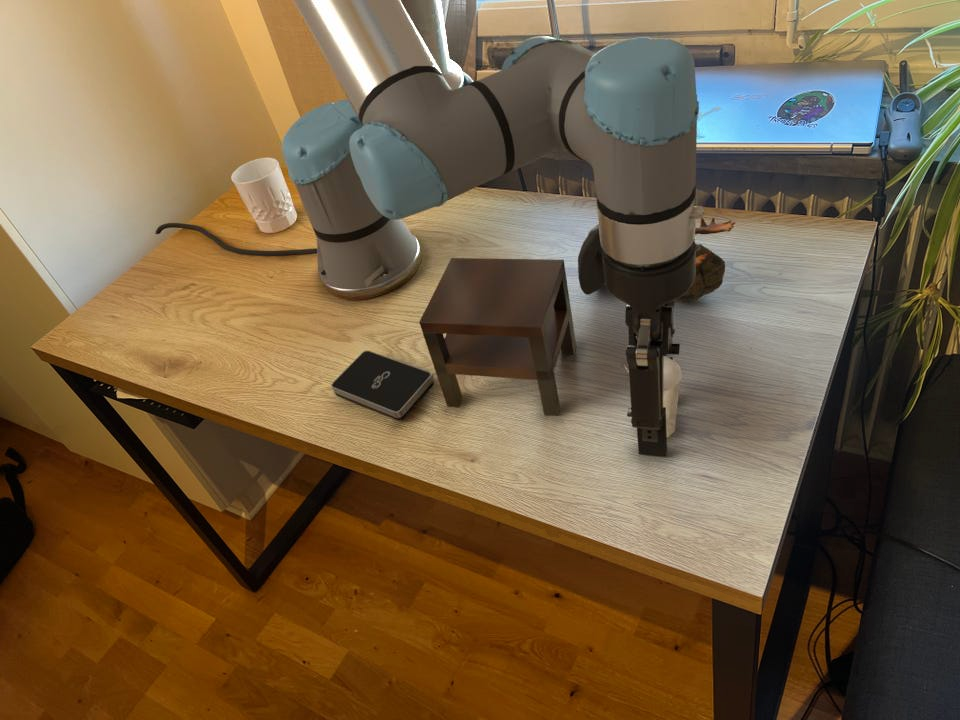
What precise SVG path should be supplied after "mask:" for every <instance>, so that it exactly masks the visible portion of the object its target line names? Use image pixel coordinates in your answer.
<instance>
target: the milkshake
mask: <svg viewBox="0 0 960 720" xmlns="http://www.w3.org/2000/svg"><path fill="white" fill-rule="evenodd" d="M668 357H669V356H667V357H666V356H664V368H663V407H666V432H667V439H668V438H670V437H671V436H672V435H673V434H674V433H675V430H676V423H677V422H676V421H677V410H678V400H679V395H680V390H681V389H680V388H681V381H682V375H683V373H682V369H681V367H680V365H679V364H678V362H676V361H675V360H674V359H673V360H672V359H670V358H668ZM623 367H624V369H626V371H627V372H628V373H629V368H628V367H627V366H626V365H625V364H623Z"/></svg>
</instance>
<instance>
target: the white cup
mask: <svg viewBox="0 0 960 720" xmlns="http://www.w3.org/2000/svg"><path fill="white" fill-rule="evenodd" d="M230 180H231V181H232V183H233V185H234V187H235V189H236V191H237V193H238V194H239V196H240V198H241V200H242V202H243V204H244V206H245V207H246V209H247V210H248V212H249V214H250V215H251V217H252V218H253V220H254V221H255V223H256V225H257V227H258V229H259V231H260V232H262V233H265V234H275V233H279V232H282V231H285V230H286V229H288V228H290V227H292V226H293V224H295V223H296V221H297V218H298V214H297V211H296V208H295V206H294V203H293V197H292V196H291V192H290V189H289V187H288V185H287V183H286V178H285V176H284V174H283V171H282V169H281V166H280V163H279V161H278V159H276V158H273V157H261V158H256V159H253V160H250V161H248V162H245V163H244V164H241V165H240V166H239V167H237V168H236V169H235V170H234V171H233V172H232V173H231V176H230Z"/></svg>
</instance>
